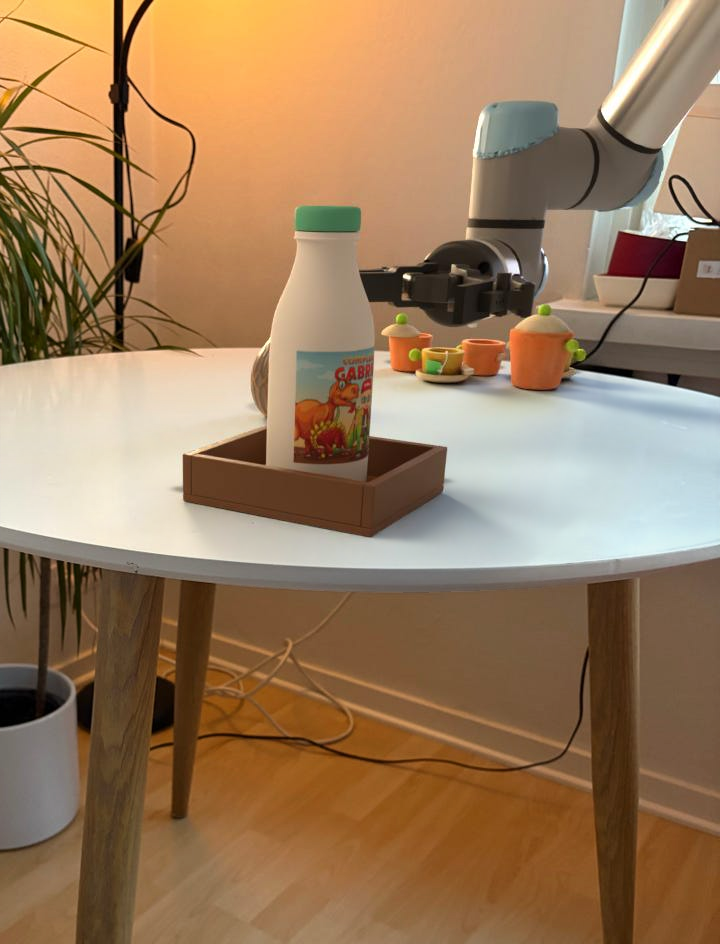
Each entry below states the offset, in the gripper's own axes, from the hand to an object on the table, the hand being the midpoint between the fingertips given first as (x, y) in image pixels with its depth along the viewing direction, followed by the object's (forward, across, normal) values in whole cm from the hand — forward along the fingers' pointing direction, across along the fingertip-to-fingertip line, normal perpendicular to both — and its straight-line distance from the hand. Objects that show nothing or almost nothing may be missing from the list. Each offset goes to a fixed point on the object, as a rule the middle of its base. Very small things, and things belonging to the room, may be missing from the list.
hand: (374, 299), depth 76 cm
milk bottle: (+8, 0, -14) cm, 16 cm away
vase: (-18, +17, -14) cm, 28 cm away
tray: (+8, 0, -14) cm, 16 cm away
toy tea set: (-52, +8, -14) cm, 55 cm away
